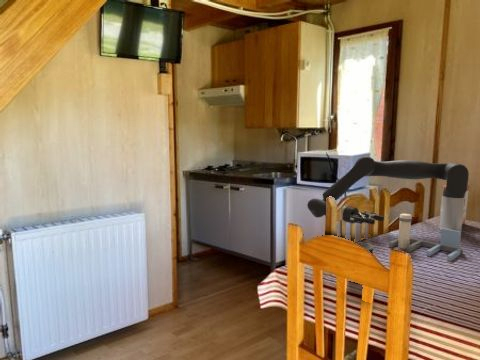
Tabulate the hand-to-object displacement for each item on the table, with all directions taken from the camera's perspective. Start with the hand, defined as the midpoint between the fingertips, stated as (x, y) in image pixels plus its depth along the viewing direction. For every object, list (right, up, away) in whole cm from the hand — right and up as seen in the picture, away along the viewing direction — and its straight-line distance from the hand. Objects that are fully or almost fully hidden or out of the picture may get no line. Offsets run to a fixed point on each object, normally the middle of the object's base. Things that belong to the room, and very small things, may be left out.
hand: (379, 220), depth 170 cm
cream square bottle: (+8, -11, -7) cm, 15 cm away
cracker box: (+50, -6, +33) cm, 60 cm away
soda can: (-22, -16, -42) cm, 50 cm away
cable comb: (+15, -11, -10) cm, 21 cm away
